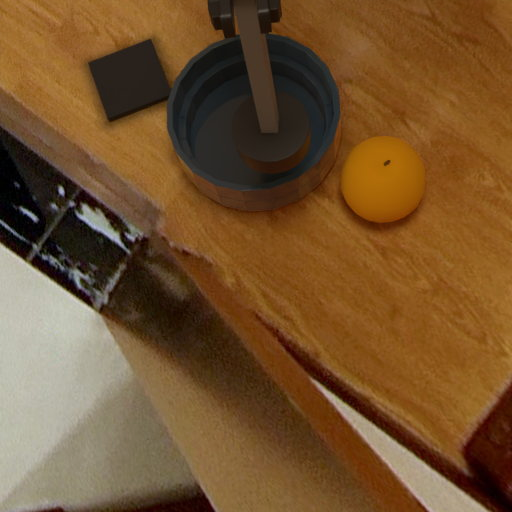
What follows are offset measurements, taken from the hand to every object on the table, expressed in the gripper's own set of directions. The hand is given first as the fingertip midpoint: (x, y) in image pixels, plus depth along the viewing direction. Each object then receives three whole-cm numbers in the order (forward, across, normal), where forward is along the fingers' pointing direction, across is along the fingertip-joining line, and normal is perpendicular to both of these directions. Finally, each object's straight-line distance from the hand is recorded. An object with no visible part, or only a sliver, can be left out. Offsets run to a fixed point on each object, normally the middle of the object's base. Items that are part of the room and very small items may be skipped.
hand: (247, 27), depth 51 cm
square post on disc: (-3, 0, +22) cm, 22 cm away
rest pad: (-17, -14, +34) cm, 41 cm away
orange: (-1, +9, +34) cm, 35 cm away
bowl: (-9, -2, +34) cm, 35 cm away
